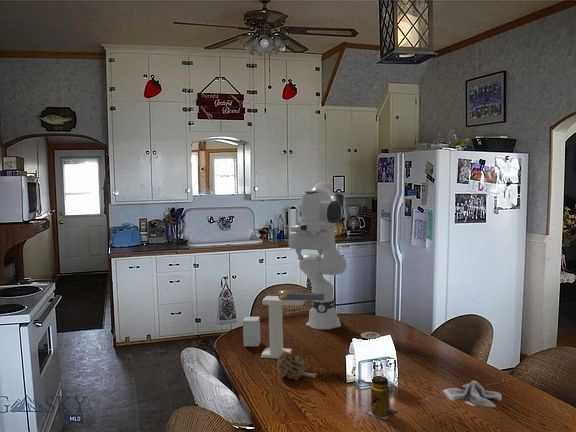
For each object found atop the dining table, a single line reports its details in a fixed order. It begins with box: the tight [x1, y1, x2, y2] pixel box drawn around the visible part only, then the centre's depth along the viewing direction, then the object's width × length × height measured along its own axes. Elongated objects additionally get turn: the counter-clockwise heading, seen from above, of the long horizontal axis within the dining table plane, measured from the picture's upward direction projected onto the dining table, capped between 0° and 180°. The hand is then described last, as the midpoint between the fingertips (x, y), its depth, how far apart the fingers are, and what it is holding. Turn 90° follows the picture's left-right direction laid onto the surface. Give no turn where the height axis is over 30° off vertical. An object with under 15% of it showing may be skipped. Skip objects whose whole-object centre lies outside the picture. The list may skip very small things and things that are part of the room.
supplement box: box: [242, 316, 262, 347], centre depth 243 cm, size 7×7×13 cm
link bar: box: [278, 289, 324, 301], centre depth 224 cm, size 4×20×3 cm, turn 78°
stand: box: [260, 295, 306, 359], centre depth 227 cm, size 9×19×26 cm, turn 78°
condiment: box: [366, 375, 398, 420], centre depth 171 cm, size 7×8×12 cm
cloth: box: [442, 380, 503, 408], centre depth 181 cm, size 22×19×6 cm
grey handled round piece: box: [276, 352, 318, 381], centre depth 199 cm, size 22×10×10 cm, turn 47°
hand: (309, 260), depth 216 cm, fingers open, 8 cm apart
